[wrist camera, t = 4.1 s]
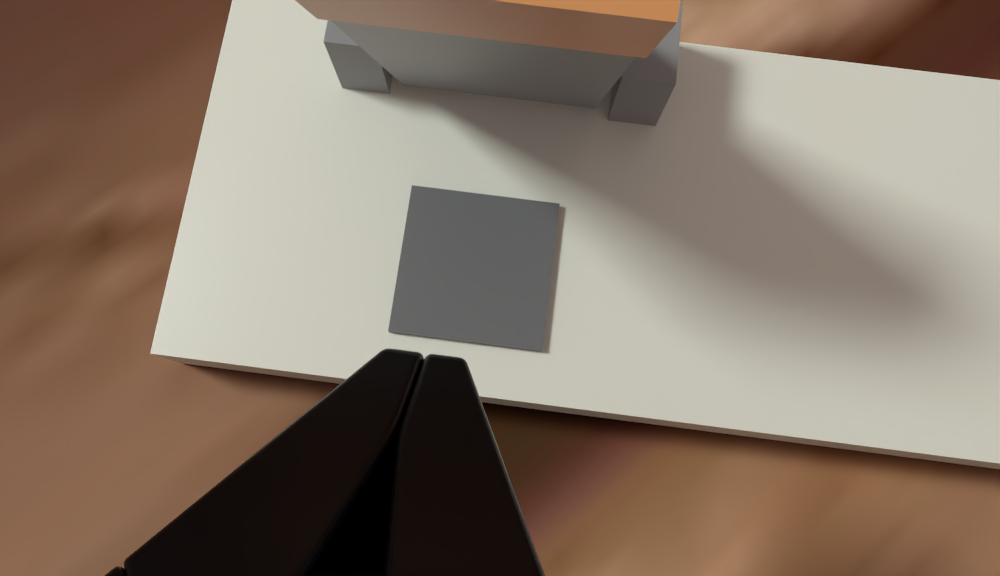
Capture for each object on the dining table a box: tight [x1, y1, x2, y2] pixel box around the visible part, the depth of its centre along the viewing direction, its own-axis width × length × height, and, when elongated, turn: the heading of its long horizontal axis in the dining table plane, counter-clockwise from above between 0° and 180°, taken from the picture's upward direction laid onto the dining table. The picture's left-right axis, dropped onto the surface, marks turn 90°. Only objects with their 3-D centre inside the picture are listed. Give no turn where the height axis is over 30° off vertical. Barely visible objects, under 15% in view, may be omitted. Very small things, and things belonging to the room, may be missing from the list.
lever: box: [295, 0, 680, 108], centre depth 12 cm, size 2×4×8 cm, turn 84°
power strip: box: [150, 0, 1000, 469], centre depth 15 cm, size 8×25×3 cm, turn 83°
